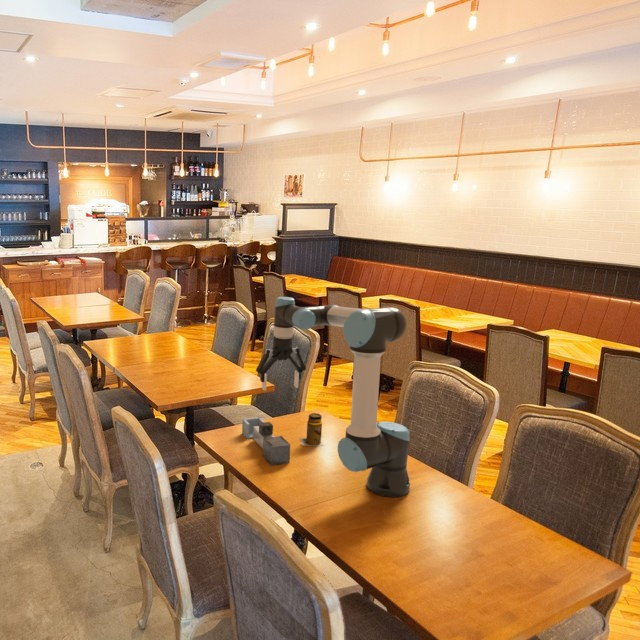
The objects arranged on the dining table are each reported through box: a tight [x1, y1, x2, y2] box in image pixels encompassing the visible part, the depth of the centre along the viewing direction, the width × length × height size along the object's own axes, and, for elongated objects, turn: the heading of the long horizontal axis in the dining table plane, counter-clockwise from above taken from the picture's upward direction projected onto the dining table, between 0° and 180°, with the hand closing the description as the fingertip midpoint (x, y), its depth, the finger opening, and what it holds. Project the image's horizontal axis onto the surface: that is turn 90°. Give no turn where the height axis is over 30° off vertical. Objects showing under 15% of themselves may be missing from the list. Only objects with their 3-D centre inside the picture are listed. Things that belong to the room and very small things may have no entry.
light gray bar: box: [252, 421, 276, 450], centre depth 232 cm, size 22×4×9 cm, turn 26°
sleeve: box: [262, 435, 291, 467], centre depth 225 cm, size 9×8×7 cm
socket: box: [241, 416, 266, 440], centre depth 247 cm, size 6×8×6 cm
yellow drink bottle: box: [300, 412, 324, 447], centre depth 243 cm, size 7×8×12 cm
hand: (280, 388), depth 236 cm, fingers open, 13 cm apart
